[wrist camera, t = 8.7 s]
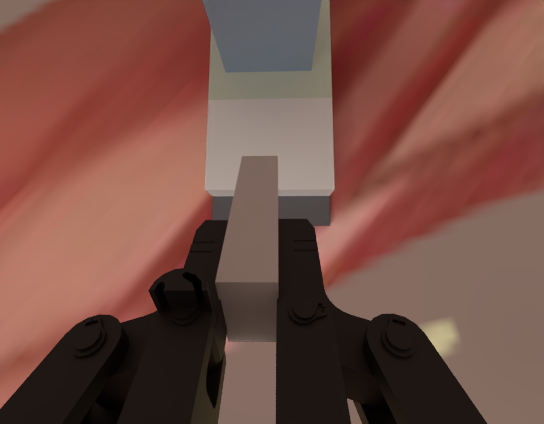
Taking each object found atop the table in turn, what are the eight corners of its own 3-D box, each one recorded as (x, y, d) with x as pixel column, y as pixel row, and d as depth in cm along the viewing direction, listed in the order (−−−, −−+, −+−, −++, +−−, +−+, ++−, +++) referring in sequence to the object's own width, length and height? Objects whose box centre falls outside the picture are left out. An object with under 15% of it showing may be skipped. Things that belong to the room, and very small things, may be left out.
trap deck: (213, 225, 25) (203, 222, 22) (221, -2, 28) (213, -32, 25) (329, 225, 24) (335, 222, 21) (323, -5, 27) (328, -36, 24)
